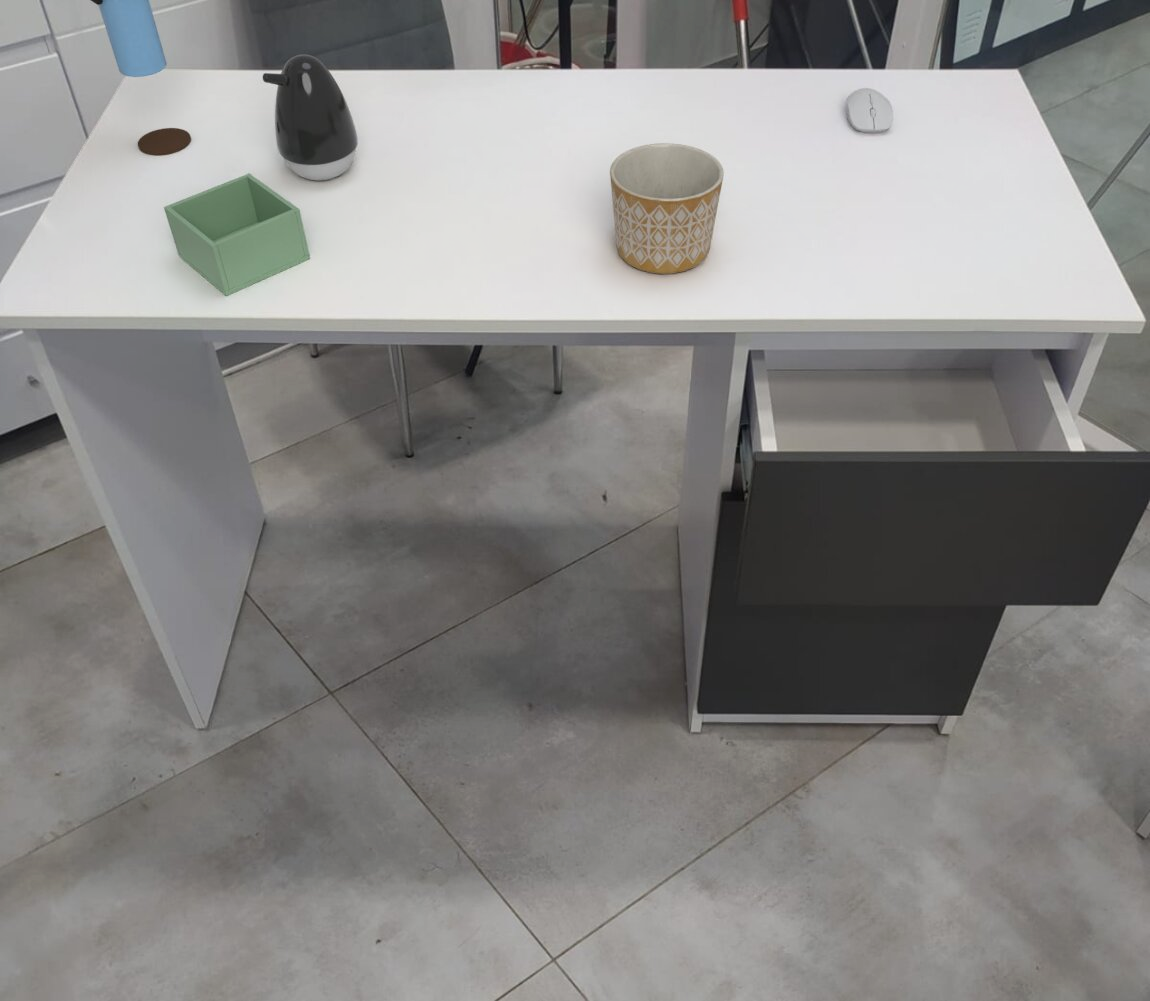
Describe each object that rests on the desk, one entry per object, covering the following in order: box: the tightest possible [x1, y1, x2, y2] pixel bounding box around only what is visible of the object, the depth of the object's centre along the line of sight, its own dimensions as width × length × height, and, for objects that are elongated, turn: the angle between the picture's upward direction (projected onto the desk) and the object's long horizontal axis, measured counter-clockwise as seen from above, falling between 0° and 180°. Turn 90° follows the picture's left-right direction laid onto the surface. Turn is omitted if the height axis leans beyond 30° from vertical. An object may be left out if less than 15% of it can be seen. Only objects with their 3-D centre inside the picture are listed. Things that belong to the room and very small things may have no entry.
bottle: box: [98, 0, 168, 78], centre depth 139 cm, size 6×6×14 cm
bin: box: [163, 173, 311, 297], centre depth 129 cm, size 11×11×7 cm
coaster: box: [137, 127, 192, 156], centre depth 152 cm, size 7×7×1 cm
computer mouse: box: [845, 87, 894, 134], centre depth 153 cm, size 6×10×3 cm, turn 179°
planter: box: [609, 142, 725, 275], centre depth 128 cm, size 13×13×10 cm
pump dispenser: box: [262, 53, 359, 181], centre depth 140 cm, size 10×10×15 cm
